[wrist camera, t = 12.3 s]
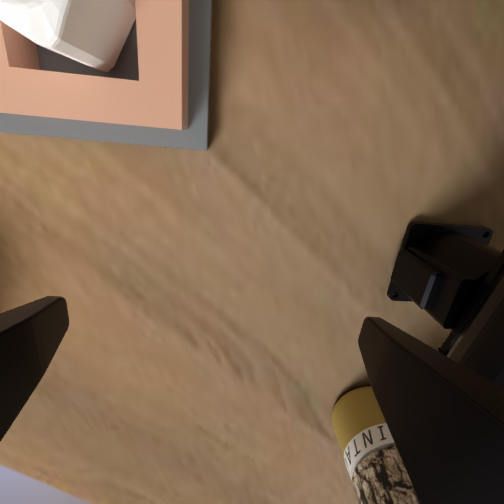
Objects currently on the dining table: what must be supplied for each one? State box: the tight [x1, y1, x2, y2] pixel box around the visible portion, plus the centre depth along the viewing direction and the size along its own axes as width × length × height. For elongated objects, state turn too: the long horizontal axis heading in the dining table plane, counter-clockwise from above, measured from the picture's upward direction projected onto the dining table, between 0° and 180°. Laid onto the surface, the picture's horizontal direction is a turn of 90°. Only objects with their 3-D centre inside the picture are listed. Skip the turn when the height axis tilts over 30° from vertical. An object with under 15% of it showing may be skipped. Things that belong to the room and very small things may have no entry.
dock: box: [0, 0, 213, 151], centre depth 14 cm, size 12×12×4 cm
